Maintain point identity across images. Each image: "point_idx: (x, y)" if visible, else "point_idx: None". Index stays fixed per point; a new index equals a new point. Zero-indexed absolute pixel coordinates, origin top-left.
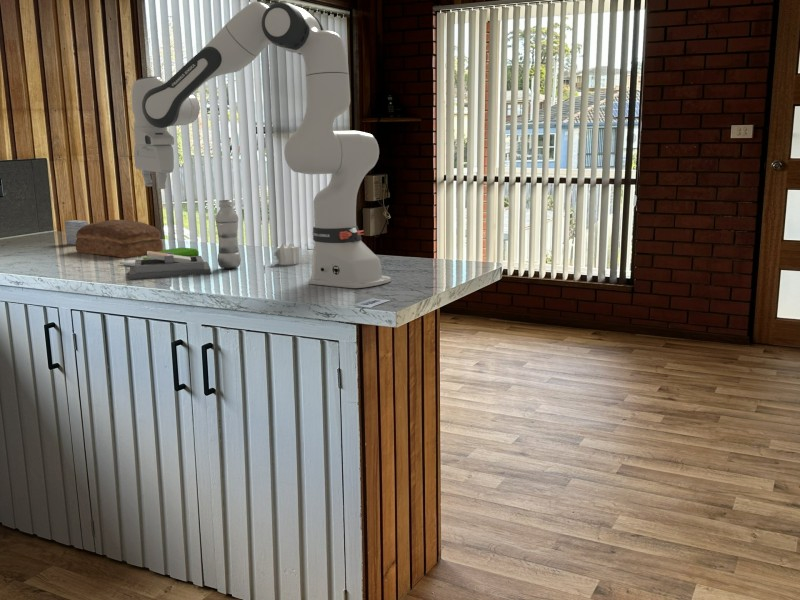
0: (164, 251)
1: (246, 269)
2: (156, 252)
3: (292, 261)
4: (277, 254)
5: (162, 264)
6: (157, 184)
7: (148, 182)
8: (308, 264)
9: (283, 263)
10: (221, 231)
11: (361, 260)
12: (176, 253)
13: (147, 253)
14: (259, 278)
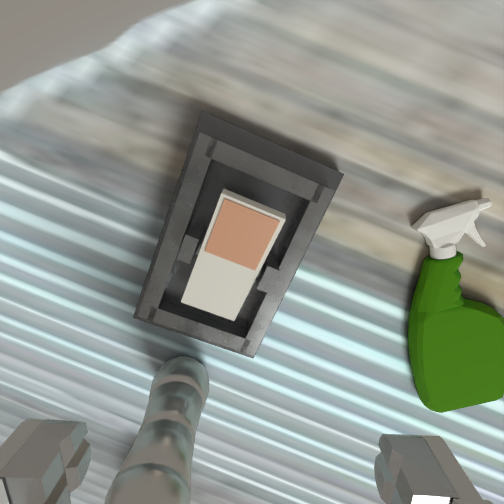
0: (486, 343)
1: (146, 391)
2: (257, 238)
3: None
4: None
5: (173, 214)
6: (44, 454)
7: (395, 485)
8: None
9: None
10: (142, 440)
11: None
12: (422, 351)
13: (226, 195)
14: (5, 359)
